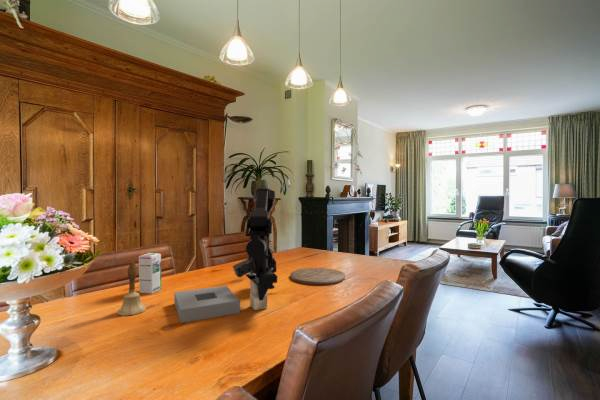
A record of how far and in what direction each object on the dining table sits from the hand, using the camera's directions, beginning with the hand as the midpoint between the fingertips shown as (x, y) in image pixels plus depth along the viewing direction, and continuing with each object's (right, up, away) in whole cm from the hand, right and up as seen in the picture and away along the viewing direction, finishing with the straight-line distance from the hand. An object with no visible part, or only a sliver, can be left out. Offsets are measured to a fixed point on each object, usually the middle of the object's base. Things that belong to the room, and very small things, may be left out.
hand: (258, 298), depth 106 cm
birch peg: (0, -3, 0) cm, 3 cm away
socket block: (-17, -3, -1) cm, 18 cm away
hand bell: (-41, -3, -4) cm, 41 cm away
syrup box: (-44, -3, +17) cm, 48 cm away
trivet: (+22, -3, +38) cm, 44 cm away
